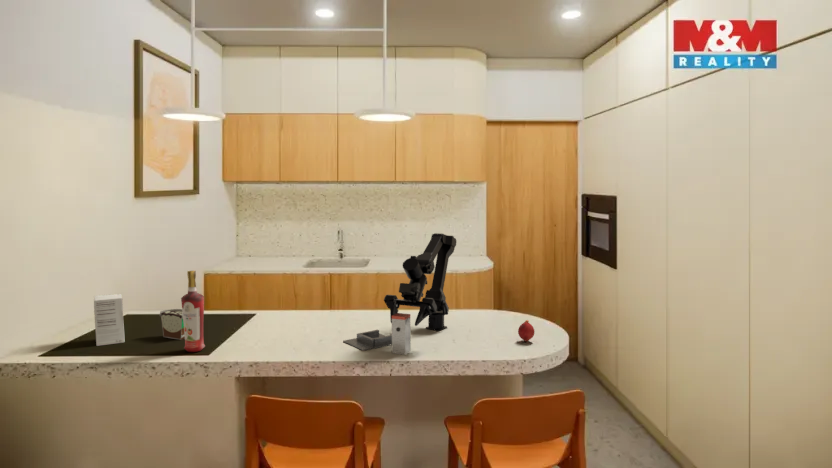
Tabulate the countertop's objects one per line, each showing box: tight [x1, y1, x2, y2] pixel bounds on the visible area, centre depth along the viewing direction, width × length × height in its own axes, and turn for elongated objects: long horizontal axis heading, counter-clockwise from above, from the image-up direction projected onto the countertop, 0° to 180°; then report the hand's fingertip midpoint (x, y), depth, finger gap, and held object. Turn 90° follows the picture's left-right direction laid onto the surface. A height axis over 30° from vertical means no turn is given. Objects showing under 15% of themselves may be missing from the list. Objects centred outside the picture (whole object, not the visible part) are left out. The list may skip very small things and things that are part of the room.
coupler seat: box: [342, 329, 392, 352], centre depth 200 cm, size 16×14×3 cm
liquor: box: [180, 270, 206, 353], centre depth 190 cm, size 7×7×28 cm
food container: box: [159, 308, 185, 341], centre depth 209 cm, size 12×6×10 cm, turn 65°
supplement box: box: [93, 293, 126, 347], centre depth 202 cm, size 10×9×17 cm
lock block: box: [391, 312, 412, 356], centre depth 187 cm, size 5×5×13 cm
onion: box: [517, 319, 535, 342], centre depth 199 cm, size 6×6×8 cm
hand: (403, 323), depth 189 cm, fingers open, 9 cm apart
